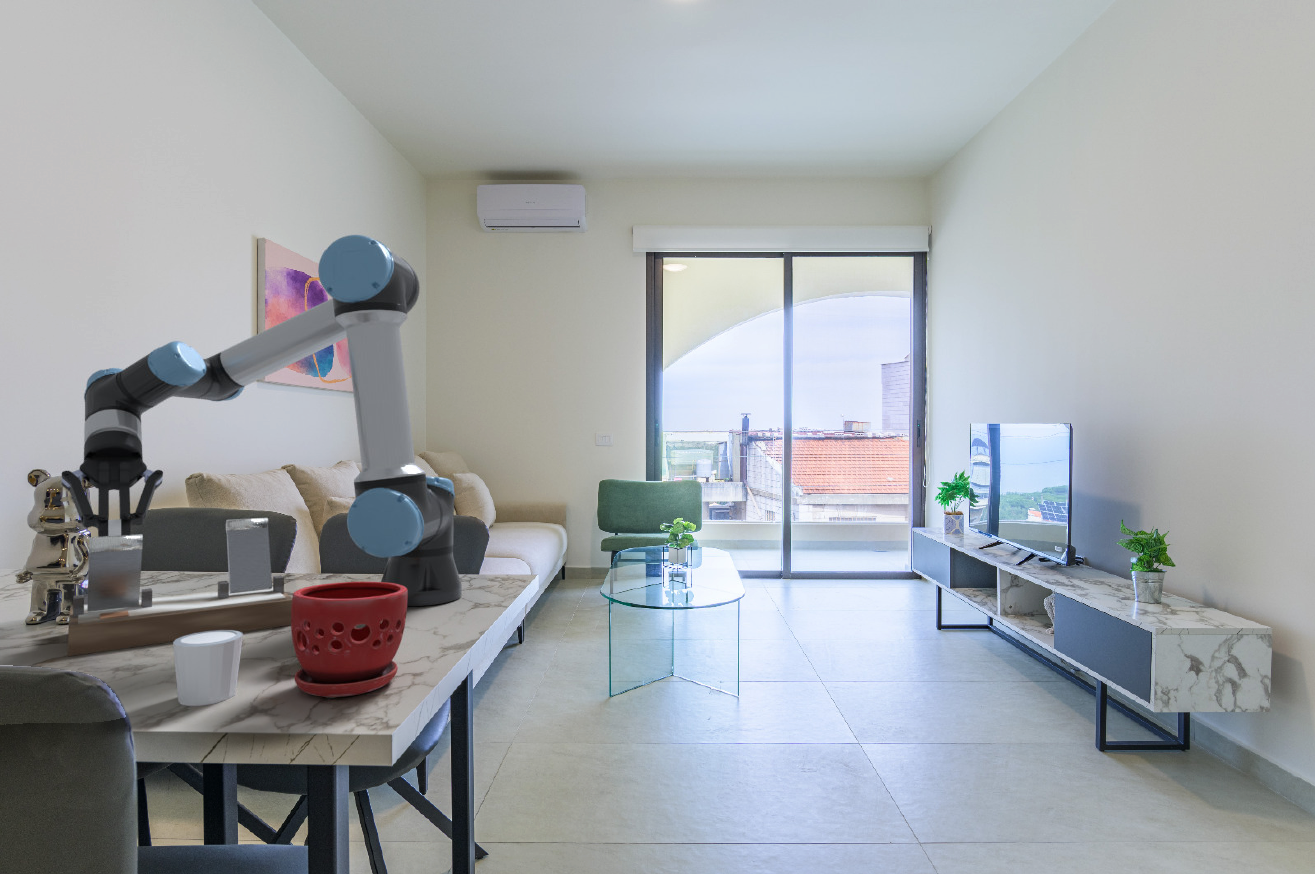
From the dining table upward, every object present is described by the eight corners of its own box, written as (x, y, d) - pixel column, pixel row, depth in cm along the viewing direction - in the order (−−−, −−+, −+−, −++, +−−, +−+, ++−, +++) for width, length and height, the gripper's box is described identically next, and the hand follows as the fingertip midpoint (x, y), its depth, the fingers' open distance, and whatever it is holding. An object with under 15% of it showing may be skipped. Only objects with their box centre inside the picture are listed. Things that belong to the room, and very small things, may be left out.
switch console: (69, 633, 106) (70, 589, 106) (275, 607, 123) (276, 569, 123) (67, 656, 95) (68, 607, 95) (294, 624, 113) (294, 583, 113)
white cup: (171, 693, 82) (173, 634, 82) (239, 682, 86) (240, 626, 86) (171, 712, 76) (173, 648, 76) (244, 700, 80) (245, 639, 80)
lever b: (87, 604, 102) (89, 534, 98) (138, 598, 106) (142, 531, 101) (87, 613, 101) (89, 543, 96) (138, 608, 104) (143, 539, 100)
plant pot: (399, 699, 81) (401, 597, 81) (275, 708, 78) (277, 601, 78) (410, 664, 94) (412, 575, 94) (304, 670, 91) (306, 579, 91)
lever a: (229, 594, 114) (225, 522, 118) (270, 589, 118) (265, 520, 122) (231, 590, 112) (227, 517, 117) (272, 586, 116) (267, 515, 120)
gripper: (160, 459, 120) (167, 570, 108) (61, 459, 112) (55, 580, 99) (163, 429, 116) (171, 540, 103) (61, 426, 108) (55, 547, 95)
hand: (114, 559), depth 101 cm, fingers closed
